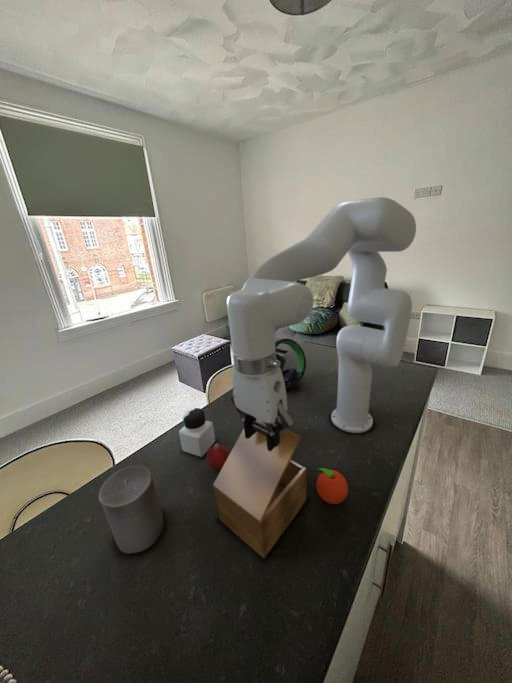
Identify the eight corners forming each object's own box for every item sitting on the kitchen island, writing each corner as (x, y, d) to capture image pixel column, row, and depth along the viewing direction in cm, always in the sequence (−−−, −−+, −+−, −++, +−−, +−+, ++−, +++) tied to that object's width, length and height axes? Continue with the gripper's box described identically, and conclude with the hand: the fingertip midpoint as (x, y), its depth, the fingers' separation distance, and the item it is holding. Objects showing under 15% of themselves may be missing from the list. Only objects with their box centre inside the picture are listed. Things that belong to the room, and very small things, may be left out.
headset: (270, 417, 107) (302, 360, 120) (292, 419, 95) (325, 356, 109) (237, 388, 101) (275, 332, 115) (257, 387, 90) (296, 325, 104)
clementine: (306, 493, 66) (306, 470, 63) (325, 477, 69) (326, 455, 67) (334, 517, 60) (335, 493, 57) (353, 499, 63) (355, 475, 61)
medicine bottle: (215, 441, 84) (210, 408, 80) (202, 458, 78) (196, 423, 74) (196, 435, 87) (190, 403, 82) (182, 451, 81) (174, 417, 77)
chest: (264, 473, 72) (261, 443, 68) (306, 500, 64) (306, 468, 60) (219, 519, 61) (214, 487, 57) (264, 558, 53) (261, 523, 49)
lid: (253, 414, 63) (242, 406, 59) (301, 437, 55) (292, 428, 52) (214, 485, 57) (200, 480, 54) (261, 522, 50) (249, 519, 46)
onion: (212, 480, 71) (208, 456, 68) (205, 465, 75) (201, 442, 73) (233, 471, 73) (230, 447, 70) (225, 456, 78) (222, 433, 75)
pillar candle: (149, 502, 66) (134, 453, 61) (173, 526, 60) (159, 474, 55) (107, 535, 59) (87, 483, 54) (130, 566, 53) (110, 511, 48)
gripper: (308, 363, 46) (308, 447, 53) (235, 343, 57) (243, 415, 64) (281, 383, 41) (286, 473, 48) (207, 357, 52) (220, 434, 59)
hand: (262, 439), depth 56 cm, fingers closed on lid, 5 cm apart
